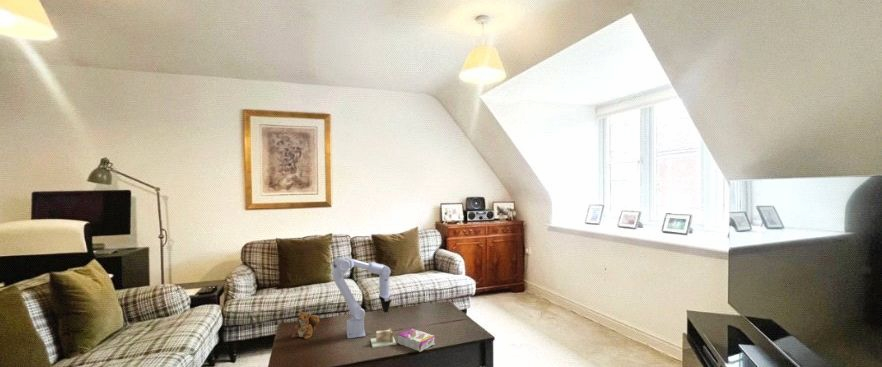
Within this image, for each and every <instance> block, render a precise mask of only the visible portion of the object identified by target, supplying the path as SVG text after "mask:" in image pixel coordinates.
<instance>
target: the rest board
mask: <svg viewBox="0 0 882 367" xmlns="http://www.w3.org/2000/svg"><path fill="white" fill-rule="evenodd" d="M370 343H371V347H372V348H373V349H374V348H375V349H376V348H382V347H390V346H395V345H397V342H396V339H395V337H394V336H393V342H391V341H385V342H378V343H377V342H376V337H374V338H370Z"/></svg>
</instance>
